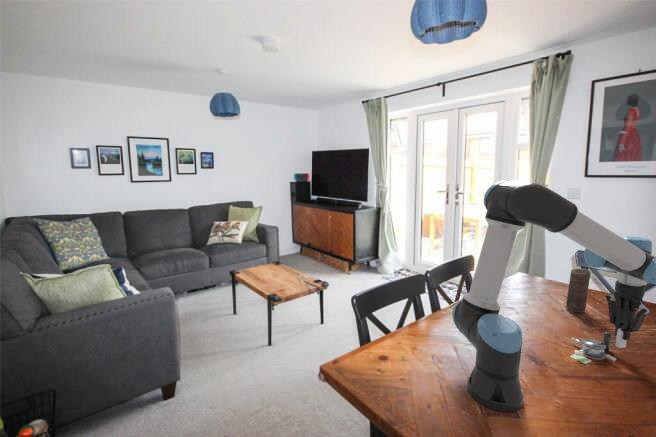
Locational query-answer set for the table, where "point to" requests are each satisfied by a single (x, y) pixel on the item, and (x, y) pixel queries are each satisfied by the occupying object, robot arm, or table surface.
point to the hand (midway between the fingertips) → (620, 346)
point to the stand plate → (583, 359)
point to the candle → (578, 290)
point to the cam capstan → (595, 347)
